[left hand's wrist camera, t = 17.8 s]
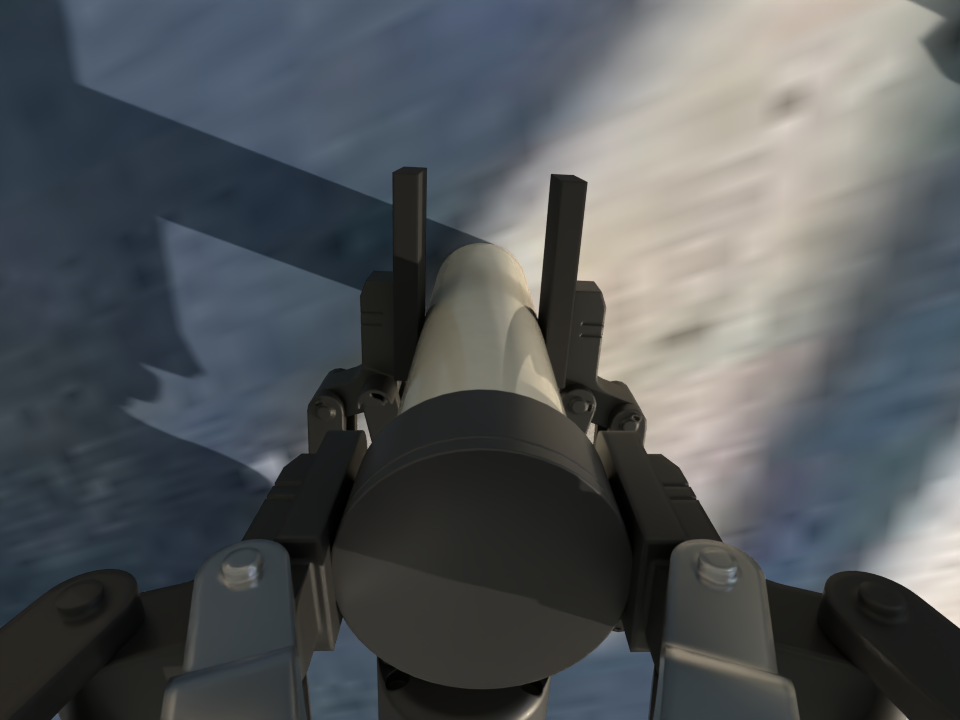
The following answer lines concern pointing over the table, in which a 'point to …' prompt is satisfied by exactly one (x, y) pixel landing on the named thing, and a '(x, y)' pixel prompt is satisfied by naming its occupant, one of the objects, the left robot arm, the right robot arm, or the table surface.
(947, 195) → the table surface
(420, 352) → the beige cylinder
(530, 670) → the lid
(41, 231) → the table surface
